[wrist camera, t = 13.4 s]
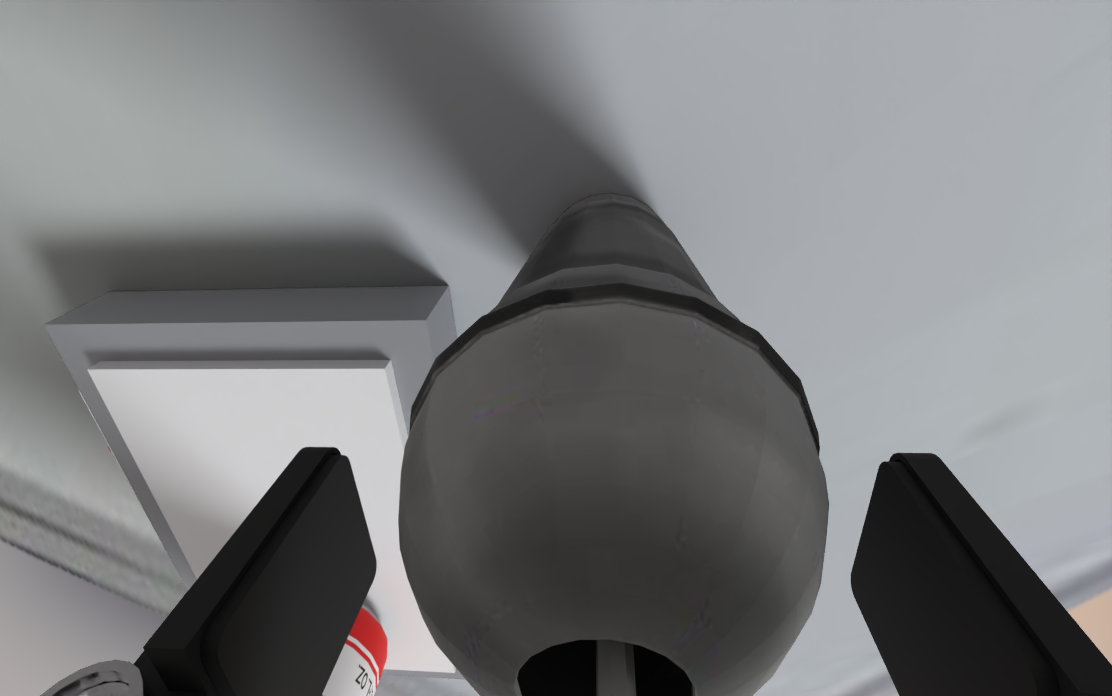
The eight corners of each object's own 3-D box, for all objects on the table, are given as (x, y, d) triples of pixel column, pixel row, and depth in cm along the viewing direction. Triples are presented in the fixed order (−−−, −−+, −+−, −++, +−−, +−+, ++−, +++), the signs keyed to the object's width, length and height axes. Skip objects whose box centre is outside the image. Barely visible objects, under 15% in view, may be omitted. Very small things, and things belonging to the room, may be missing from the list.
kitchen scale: (93, 291, 23) (9, 332, 20) (448, 285, 21) (420, 328, 18) (248, 615, 32) (209, 677, 29) (501, 626, 31) (489, 692, 28)
